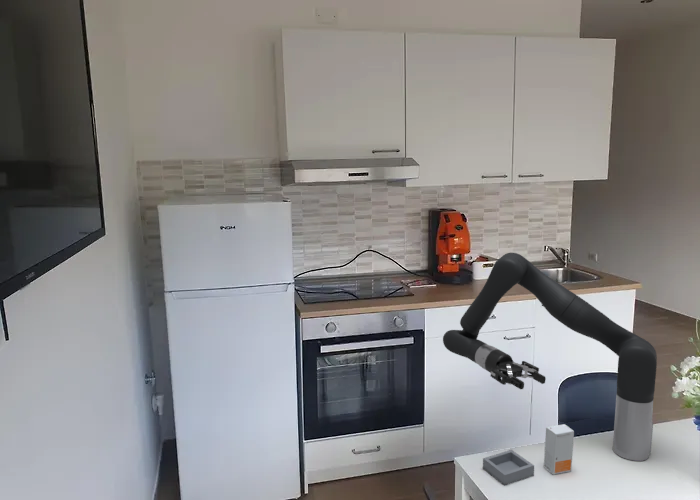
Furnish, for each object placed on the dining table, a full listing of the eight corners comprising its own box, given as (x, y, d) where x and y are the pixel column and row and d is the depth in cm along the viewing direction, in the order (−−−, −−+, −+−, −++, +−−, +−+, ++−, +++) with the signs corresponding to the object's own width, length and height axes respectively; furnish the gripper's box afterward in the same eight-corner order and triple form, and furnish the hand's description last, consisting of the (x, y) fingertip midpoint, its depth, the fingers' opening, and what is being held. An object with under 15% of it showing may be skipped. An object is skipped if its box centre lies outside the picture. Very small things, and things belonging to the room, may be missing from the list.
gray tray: (511, 459, 149) (511, 449, 148) (533, 475, 141) (534, 465, 140) (482, 468, 145) (483, 458, 144) (504, 485, 137) (504, 475, 136)
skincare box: (553, 475, 141) (555, 434, 139) (543, 467, 145) (545, 426, 143) (572, 471, 142) (574, 430, 140) (562, 463, 147) (564, 423, 145)
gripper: (477, 352, 158) (517, 375, 144) (511, 345, 165) (553, 366, 151) (474, 375, 160) (514, 400, 146) (508, 367, 166) (549, 390, 153)
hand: (534, 383), depth 148 cm, fingers open, 8 cm apart
